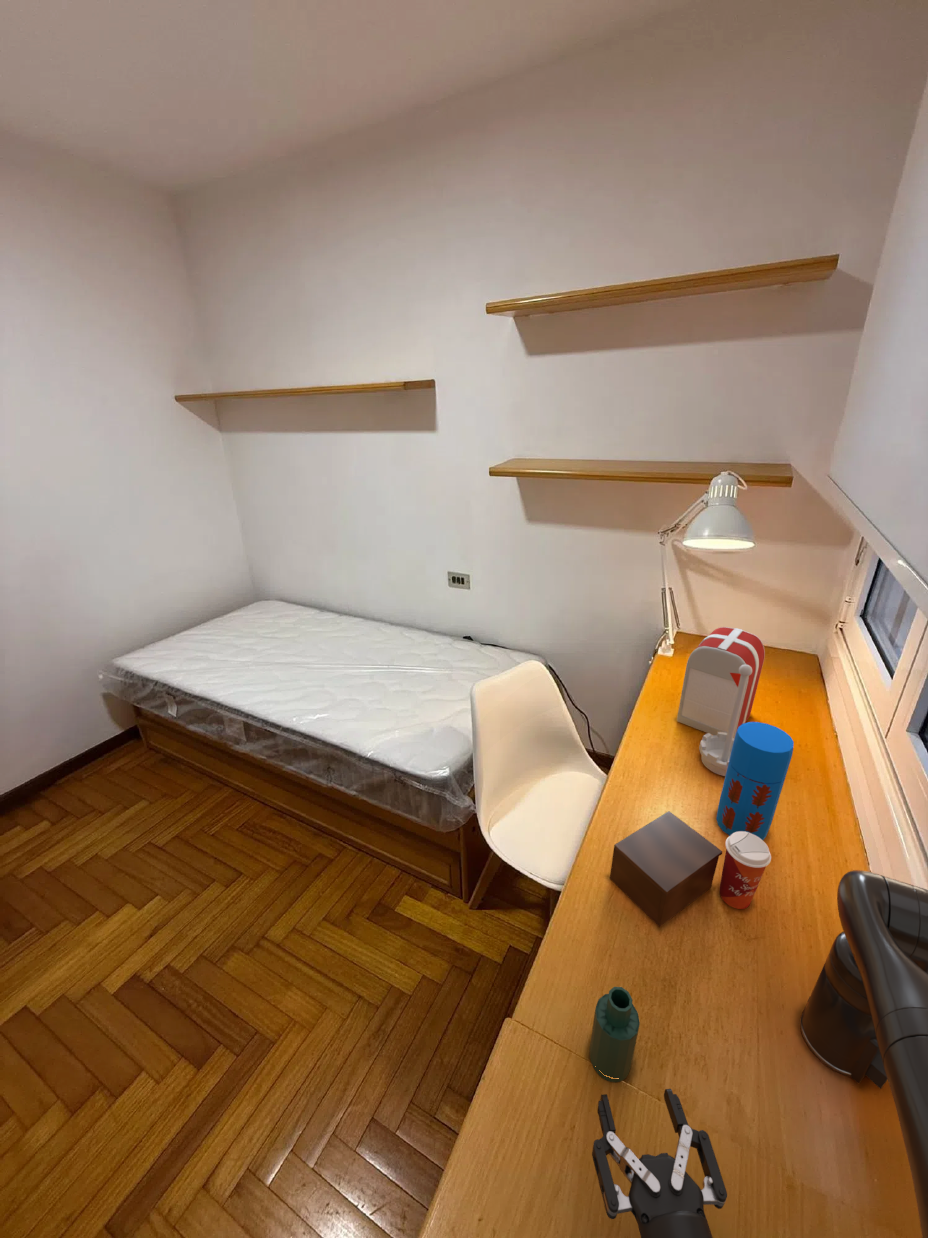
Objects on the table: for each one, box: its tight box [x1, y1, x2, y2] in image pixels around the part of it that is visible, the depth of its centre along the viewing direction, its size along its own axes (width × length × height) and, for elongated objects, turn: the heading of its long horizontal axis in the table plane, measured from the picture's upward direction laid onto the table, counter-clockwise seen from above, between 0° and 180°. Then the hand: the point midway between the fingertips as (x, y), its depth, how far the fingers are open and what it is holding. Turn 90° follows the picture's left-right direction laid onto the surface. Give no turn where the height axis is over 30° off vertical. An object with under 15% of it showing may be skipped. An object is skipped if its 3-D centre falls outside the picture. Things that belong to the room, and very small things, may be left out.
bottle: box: [589, 986, 641, 1083], centre depth 75 cm, size 6×6×15 cm
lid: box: [613, 810, 723, 895], centre depth 102 cm, size 16×13×1 cm
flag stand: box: [698, 665, 752, 777], centre depth 132 cm, size 13×13×30 cm
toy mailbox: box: [676, 626, 766, 739], centre depth 151 cm, size 16×18×27 cm
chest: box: [609, 847, 720, 928], centre depth 104 cm, size 16×13×9 cm
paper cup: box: [718, 831, 772, 910], centre depth 100 cm, size 8×8×14 cm
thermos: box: [715, 721, 795, 841], centre depth 114 cm, size 11×11×25 cm
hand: (635, 1094), depth 68 cm, fingers open, 8 cm apart
